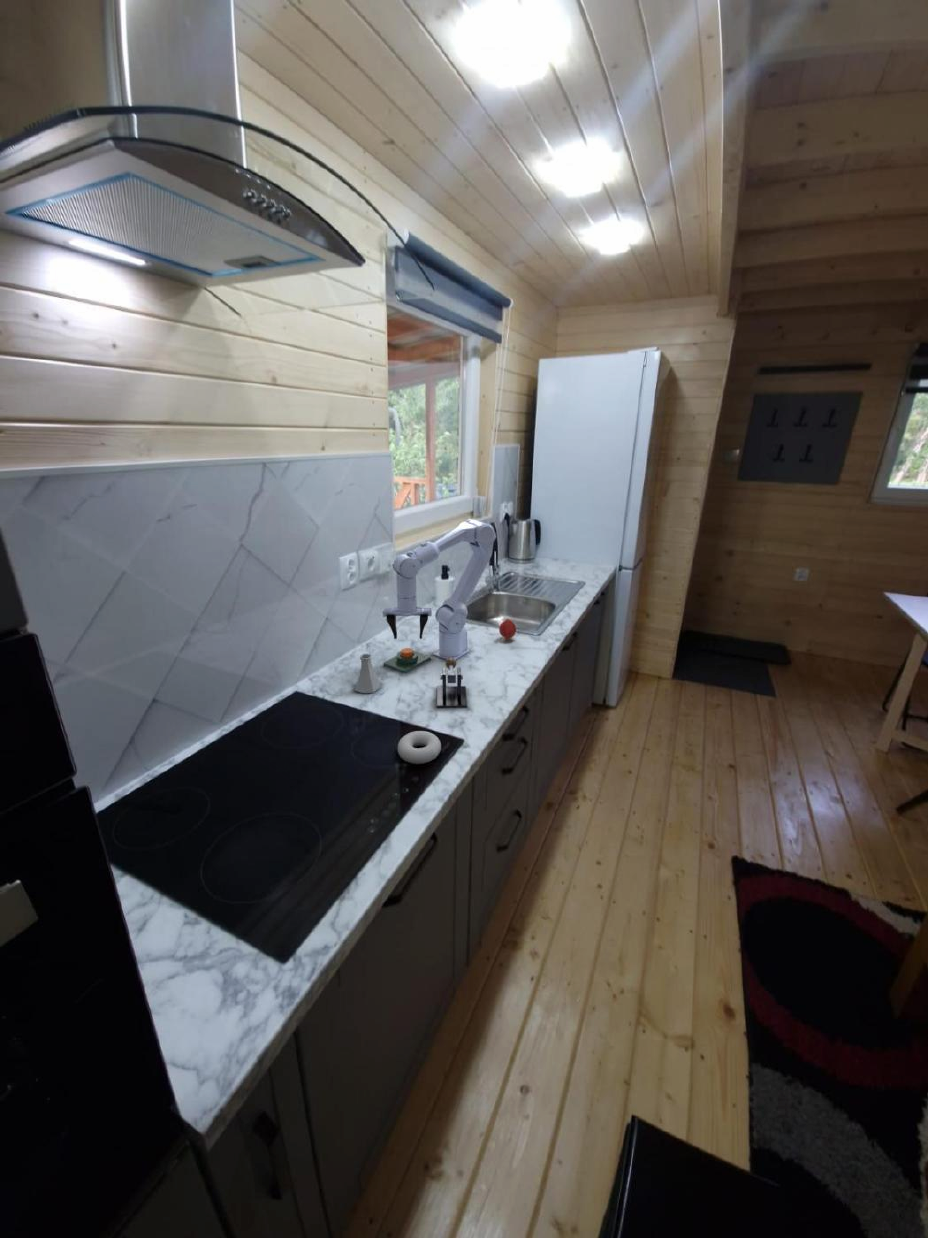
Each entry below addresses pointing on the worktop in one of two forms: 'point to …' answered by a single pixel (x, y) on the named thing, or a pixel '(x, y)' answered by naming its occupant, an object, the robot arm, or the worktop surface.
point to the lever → (451, 670)
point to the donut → (419, 754)
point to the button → (406, 652)
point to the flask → (367, 676)
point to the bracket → (451, 692)
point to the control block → (406, 662)
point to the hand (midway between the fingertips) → (408, 637)
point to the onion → (507, 629)
